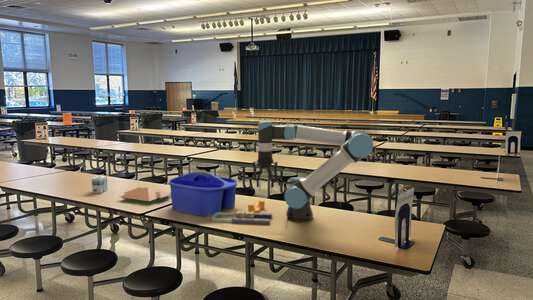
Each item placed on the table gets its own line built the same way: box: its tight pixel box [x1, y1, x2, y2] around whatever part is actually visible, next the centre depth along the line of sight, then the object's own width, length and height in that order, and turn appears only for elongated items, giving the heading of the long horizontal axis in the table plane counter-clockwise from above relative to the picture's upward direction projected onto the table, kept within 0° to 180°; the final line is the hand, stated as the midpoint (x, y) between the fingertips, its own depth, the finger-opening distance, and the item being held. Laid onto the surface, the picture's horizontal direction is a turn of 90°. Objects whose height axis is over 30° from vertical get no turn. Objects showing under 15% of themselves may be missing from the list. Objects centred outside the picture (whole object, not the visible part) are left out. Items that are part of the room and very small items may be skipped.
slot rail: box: [231, 211, 273, 226], centre depth 204 cm, size 20×13×4 cm, turn 82°
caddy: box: [168, 170, 238, 217], centre depth 230 cm, size 32×45×23 cm
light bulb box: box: [91, 175, 108, 194], centre depth 270 cm, size 11×7×11 cm, turn 179°
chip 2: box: [245, 210, 254, 218], centre depth 204 cm, size 4×4×4 cm
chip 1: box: [236, 210, 246, 218], centre depth 205 cm, size 4×4×4 cm
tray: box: [210, 211, 237, 223], centre depth 207 cm, size 12×12×3 cm
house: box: [118, 186, 171, 206], centre depth 252 cm, size 23×33×8 cm
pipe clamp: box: [247, 199, 266, 213], centre depth 220 cm, size 12×4×6 cm, turn 142°
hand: (265, 193), depth 201 cm, fingers open, 5 cm apart
